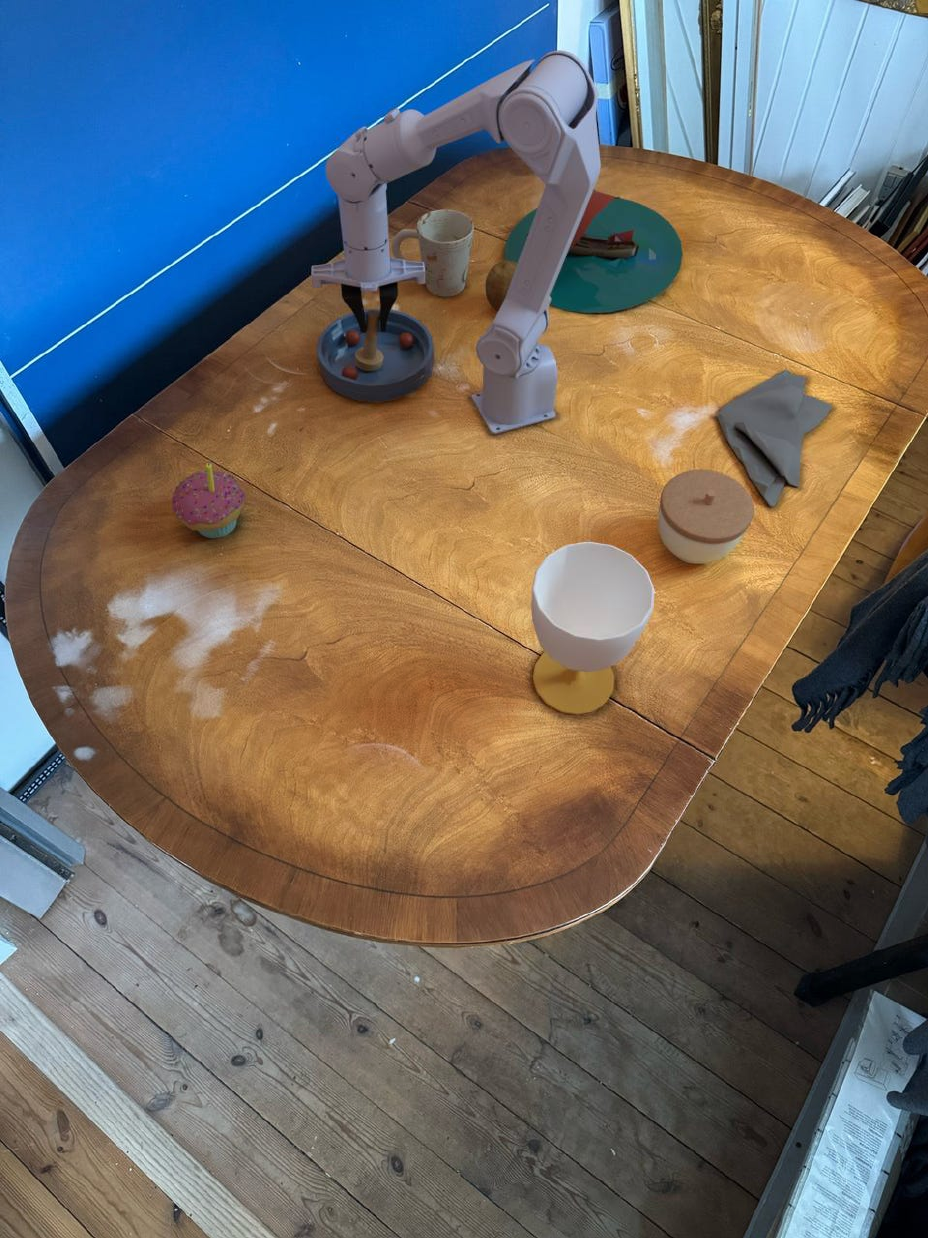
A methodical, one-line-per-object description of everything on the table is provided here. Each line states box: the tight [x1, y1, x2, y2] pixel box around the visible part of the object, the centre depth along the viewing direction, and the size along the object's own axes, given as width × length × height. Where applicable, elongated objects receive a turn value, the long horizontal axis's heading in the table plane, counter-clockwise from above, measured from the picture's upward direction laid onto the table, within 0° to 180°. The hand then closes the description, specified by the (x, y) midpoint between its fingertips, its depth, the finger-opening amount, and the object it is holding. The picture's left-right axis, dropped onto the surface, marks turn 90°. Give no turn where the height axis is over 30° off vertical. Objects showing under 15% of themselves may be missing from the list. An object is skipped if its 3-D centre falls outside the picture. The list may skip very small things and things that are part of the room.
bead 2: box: [342, 366, 358, 380], centre depth 124 cm, size 2×2×2 cm
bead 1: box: [346, 330, 361, 346], centre depth 128 cm, size 2×2×2 cm
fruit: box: [485, 260, 517, 312], centre depth 131 cm, size 6×6×8 cm
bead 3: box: [399, 333, 414, 348], centre depth 128 cm, size 2×2×2 cm
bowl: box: [316, 308, 435, 403], centre depth 126 cm, size 16×16×4 cm
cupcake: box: [171, 459, 246, 539], centre depth 106 cm, size 9×8×12 cm
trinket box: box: [657, 468, 755, 565], centre depth 106 cm, size 11×11×9 cm
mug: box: [391, 209, 475, 298], centre depth 134 cm, size 8×13×10 cm, turn 78°
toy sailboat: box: [504, 188, 683, 314], centre depth 138 cm, size 28×28×11 cm
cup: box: [530, 541, 656, 715], centre depth 92 cm, size 12×12×17 cm
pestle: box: [355, 310, 383, 371], centre depth 123 cm, size 4×4×8 cm
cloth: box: [716, 368, 833, 508], centre depth 120 cm, size 26×14×2 cm, turn 151°
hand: (373, 327), depth 122 cm, fingers closed on pestle, 2 cm apart
